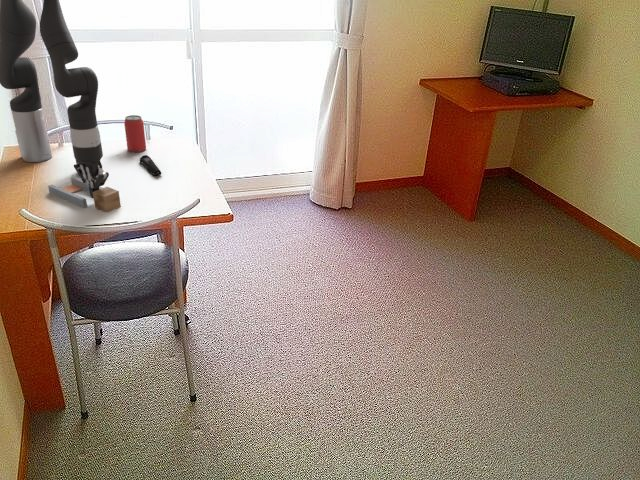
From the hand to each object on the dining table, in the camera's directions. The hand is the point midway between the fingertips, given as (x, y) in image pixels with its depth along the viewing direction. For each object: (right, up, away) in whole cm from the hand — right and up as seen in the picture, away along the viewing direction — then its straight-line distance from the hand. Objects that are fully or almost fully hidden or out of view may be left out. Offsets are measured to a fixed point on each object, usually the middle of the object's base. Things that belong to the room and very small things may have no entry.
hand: (95, 197), depth 160 cm
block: (+4, -3, -1) cm, 5 cm away
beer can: (-1, +21, +40) cm, 45 cm away
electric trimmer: (+9, +11, +25) cm, 29 cm away
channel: (-7, +1, +4) cm, 8 cm away
